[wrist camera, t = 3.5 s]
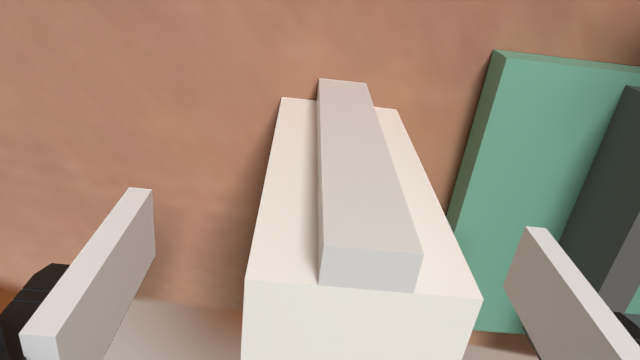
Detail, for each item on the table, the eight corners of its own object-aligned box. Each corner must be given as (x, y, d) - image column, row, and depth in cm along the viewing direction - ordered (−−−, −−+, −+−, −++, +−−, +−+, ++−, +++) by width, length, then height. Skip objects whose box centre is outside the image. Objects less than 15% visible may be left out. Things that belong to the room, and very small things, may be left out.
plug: (272, 214, 23) (235, 457, 12) (283, 74, 20) (246, 238, 9) (373, 224, 23) (422, 469, 13) (400, 86, 20) (497, 261, 9)
